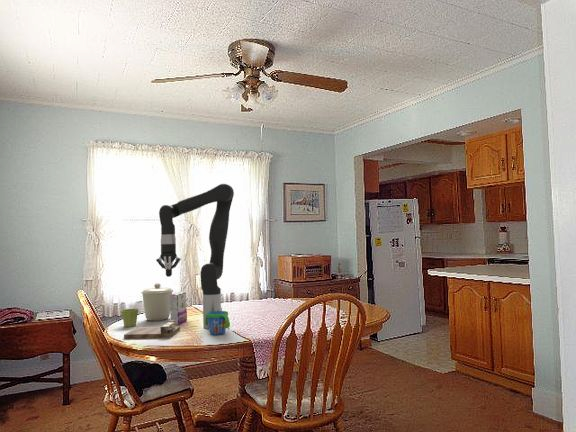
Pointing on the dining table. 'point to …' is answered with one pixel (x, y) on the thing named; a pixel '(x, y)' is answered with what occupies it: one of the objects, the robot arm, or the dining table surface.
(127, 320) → the plant pot
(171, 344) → the dining table surface
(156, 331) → the walnut board
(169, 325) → the folding leg
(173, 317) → the candy bar box
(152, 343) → the dining table surface
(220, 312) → the snack cup
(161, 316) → the canister
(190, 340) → the dining table surface
